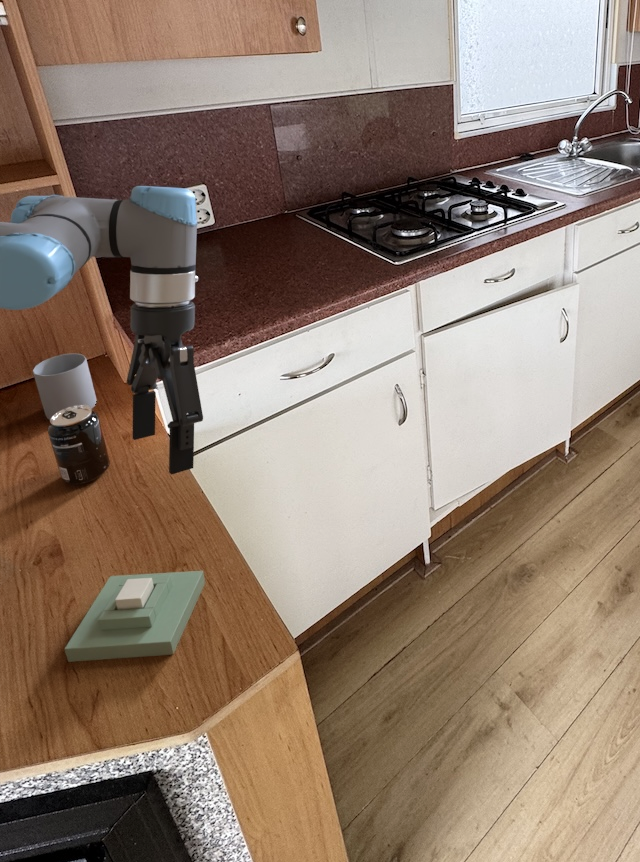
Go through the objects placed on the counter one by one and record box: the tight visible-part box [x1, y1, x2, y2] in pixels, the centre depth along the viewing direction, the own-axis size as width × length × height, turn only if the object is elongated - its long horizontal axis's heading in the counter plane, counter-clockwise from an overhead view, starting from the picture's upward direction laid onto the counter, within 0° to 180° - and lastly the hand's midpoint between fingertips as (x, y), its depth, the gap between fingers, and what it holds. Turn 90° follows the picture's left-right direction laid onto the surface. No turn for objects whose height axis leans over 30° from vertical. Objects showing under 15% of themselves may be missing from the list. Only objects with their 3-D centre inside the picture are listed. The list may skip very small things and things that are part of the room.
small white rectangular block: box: [115, 578, 154, 610], centre depth 72 cm, size 3×3×2 cm
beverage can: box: [47, 405, 111, 485], centre depth 96 cm, size 7×7×12 cm
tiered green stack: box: [63, 570, 206, 663], centre depth 73 cm, size 12×10×4 cm
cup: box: [32, 353, 98, 420], centre depth 114 cm, size 8×8×10 cm
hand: (161, 452), depth 80 cm, fingers open, 13 cm apart
